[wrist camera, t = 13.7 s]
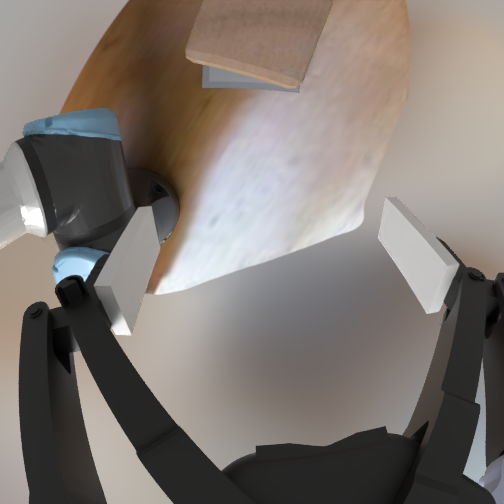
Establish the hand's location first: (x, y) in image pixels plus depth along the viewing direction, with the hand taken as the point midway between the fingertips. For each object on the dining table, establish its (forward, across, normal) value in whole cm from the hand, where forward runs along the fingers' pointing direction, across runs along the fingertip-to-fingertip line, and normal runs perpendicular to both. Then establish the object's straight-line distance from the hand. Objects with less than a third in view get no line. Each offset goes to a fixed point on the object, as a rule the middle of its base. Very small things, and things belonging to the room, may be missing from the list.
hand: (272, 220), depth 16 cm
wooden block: (+30, +1, +12) cm, 33 cm away
